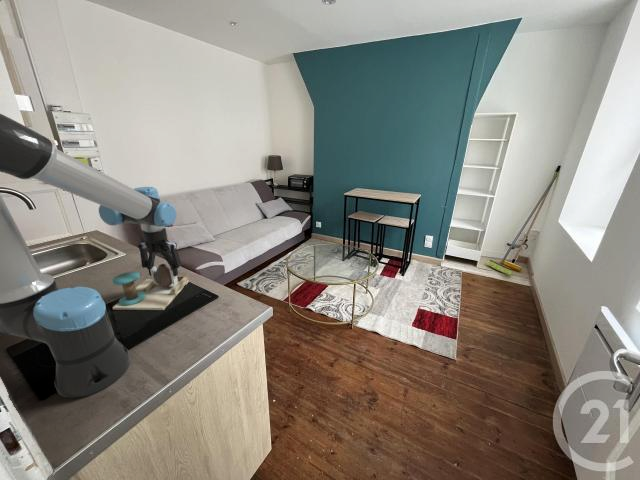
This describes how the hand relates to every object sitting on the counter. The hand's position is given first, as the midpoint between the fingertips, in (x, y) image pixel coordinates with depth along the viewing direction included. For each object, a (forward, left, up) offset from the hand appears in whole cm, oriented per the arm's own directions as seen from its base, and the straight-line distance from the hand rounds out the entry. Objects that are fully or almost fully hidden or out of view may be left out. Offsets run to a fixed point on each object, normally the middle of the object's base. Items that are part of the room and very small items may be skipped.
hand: (165, 282), depth 106 cm
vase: (0, 0, -1) cm, 1 cm away
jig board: (-4, +3, -3) cm, 6 cm away
